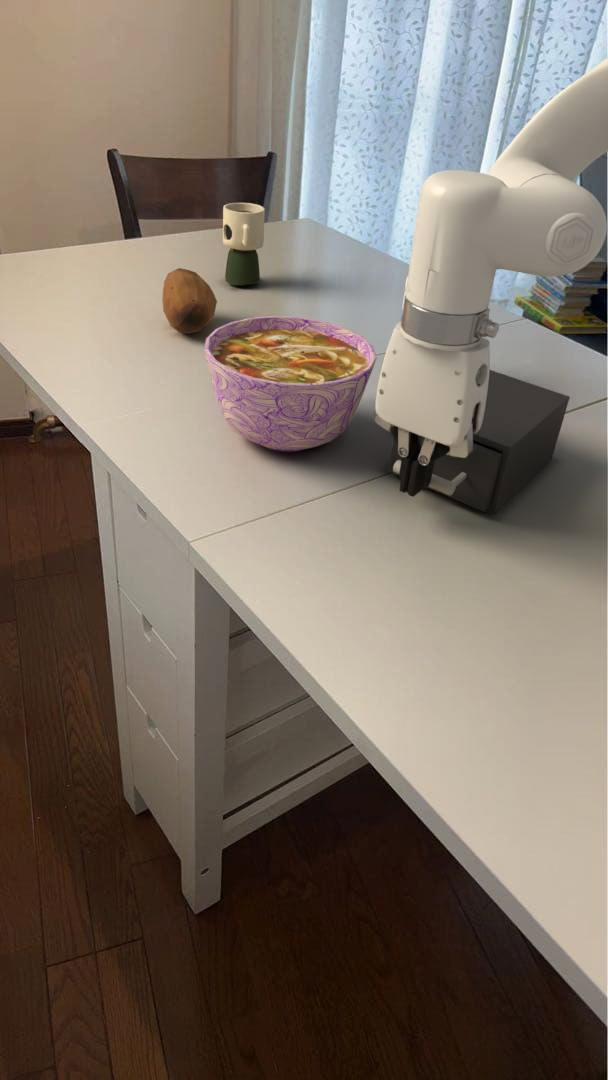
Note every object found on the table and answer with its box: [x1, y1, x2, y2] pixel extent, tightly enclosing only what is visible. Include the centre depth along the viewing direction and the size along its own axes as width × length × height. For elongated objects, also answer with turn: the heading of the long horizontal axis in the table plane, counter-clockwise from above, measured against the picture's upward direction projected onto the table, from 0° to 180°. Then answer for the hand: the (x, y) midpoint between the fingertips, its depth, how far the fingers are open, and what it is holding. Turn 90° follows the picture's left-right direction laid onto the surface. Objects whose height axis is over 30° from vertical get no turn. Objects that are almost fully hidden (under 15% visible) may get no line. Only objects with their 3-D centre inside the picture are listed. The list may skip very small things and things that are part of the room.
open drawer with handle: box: [387, 437, 502, 513], centre depth 91 cm, size 20×12×7 cm, turn 143°
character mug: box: [222, 202, 266, 287], centre depth 140 cm, size 11×7×13 cm, turn 9°
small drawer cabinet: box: [473, 369, 571, 516], centre depth 94 cm, size 17×14×9 cm
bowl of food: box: [204, 315, 377, 453], centre depth 96 cm, size 20×20×12 cm
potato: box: [162, 268, 218, 335], centre depth 123 cm, size 8×13×8 cm
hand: (413, 488), depth 84 cm, fingers closed
